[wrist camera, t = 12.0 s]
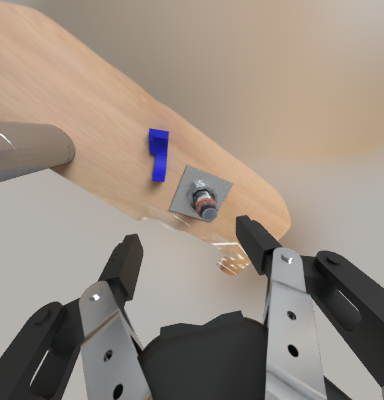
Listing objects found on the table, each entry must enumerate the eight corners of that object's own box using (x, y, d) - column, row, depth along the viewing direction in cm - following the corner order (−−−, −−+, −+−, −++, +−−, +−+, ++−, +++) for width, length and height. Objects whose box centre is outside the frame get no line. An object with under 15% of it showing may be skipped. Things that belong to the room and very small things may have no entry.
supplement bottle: (211, 203, 46) (221, 222, 36) (193, 206, 46) (199, 227, 36) (209, 186, 44) (220, 203, 33) (191, 190, 43) (196, 207, 33)
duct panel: (169, 208, 46) (169, 214, 43) (187, 164, 40) (188, 167, 37) (211, 221, 51) (213, 227, 47) (232, 182, 45) (237, 186, 41)
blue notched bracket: (151, 128, 35) (147, 128, 30) (168, 131, 36) (167, 131, 31) (150, 173, 41) (146, 180, 35) (165, 175, 41) (164, 181, 36)
